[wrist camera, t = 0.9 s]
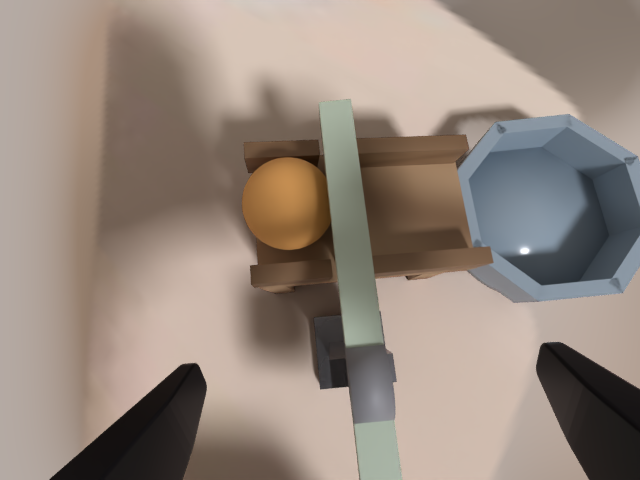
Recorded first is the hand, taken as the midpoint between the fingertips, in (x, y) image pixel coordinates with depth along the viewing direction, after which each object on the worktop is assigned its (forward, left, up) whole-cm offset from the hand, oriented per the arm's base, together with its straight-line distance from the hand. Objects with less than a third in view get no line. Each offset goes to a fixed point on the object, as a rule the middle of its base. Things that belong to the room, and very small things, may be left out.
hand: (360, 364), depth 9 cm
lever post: (-1, 0, -12) cm, 12 cm away
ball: (+6, +2, -4) cm, 8 cm away
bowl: (+6, -13, -12) cm, 18 cm away
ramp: (+6, -2, -12) cm, 13 cm away
